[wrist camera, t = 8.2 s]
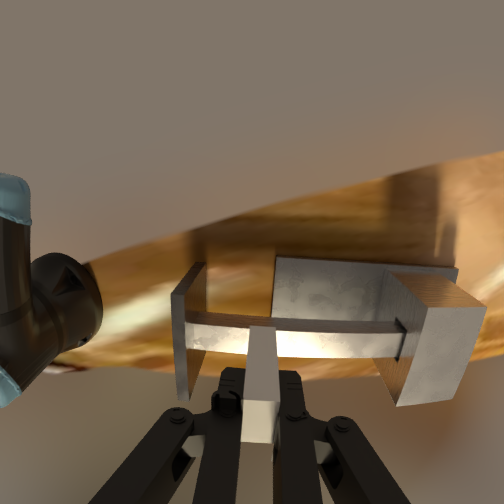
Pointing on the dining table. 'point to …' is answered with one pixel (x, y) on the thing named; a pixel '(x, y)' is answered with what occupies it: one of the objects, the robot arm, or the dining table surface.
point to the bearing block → (390, 316)
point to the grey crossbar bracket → (287, 329)
